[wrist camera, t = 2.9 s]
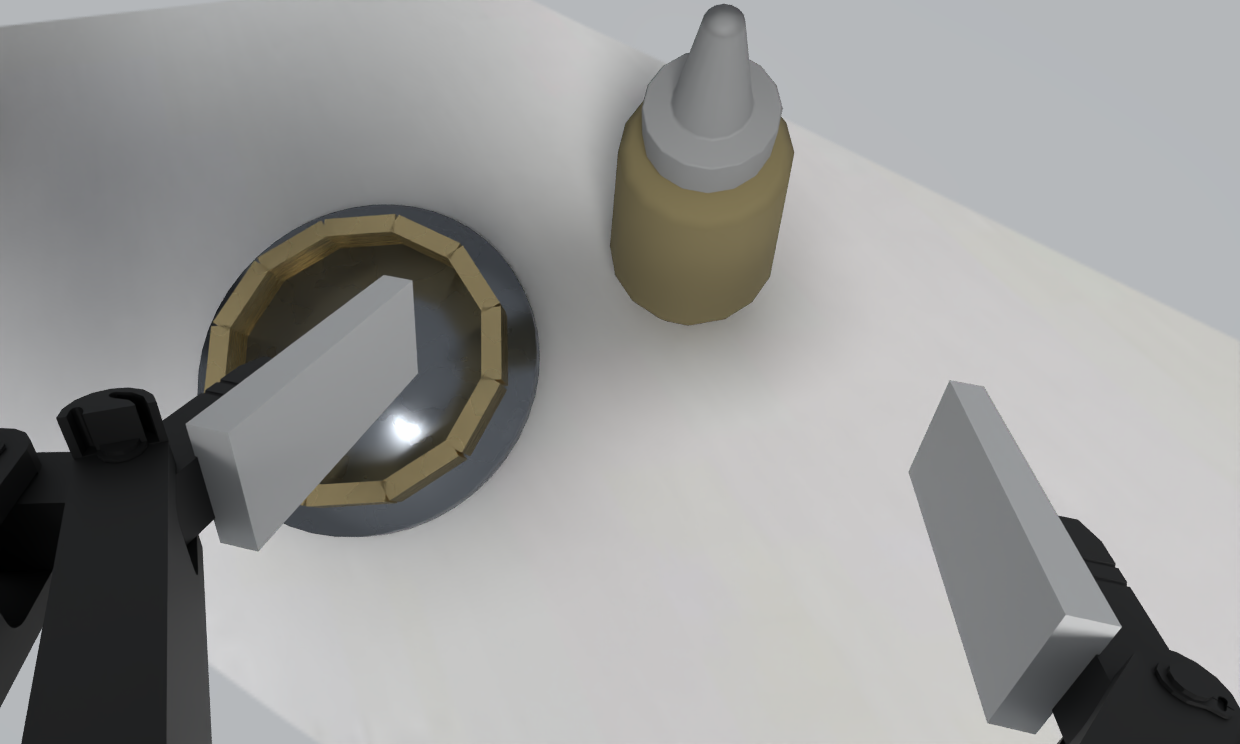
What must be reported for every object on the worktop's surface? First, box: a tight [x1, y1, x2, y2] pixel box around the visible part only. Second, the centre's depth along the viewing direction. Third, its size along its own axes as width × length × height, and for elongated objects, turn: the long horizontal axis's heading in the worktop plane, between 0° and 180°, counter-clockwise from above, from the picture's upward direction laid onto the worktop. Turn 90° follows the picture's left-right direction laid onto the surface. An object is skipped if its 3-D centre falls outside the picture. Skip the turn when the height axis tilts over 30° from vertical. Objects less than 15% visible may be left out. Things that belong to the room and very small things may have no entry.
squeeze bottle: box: [610, 4, 794, 325], centre depth 27 cm, size 8×8×18 cm
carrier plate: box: [198, 205, 540, 537], centre depth 34 cm, size 18×18×2 cm
